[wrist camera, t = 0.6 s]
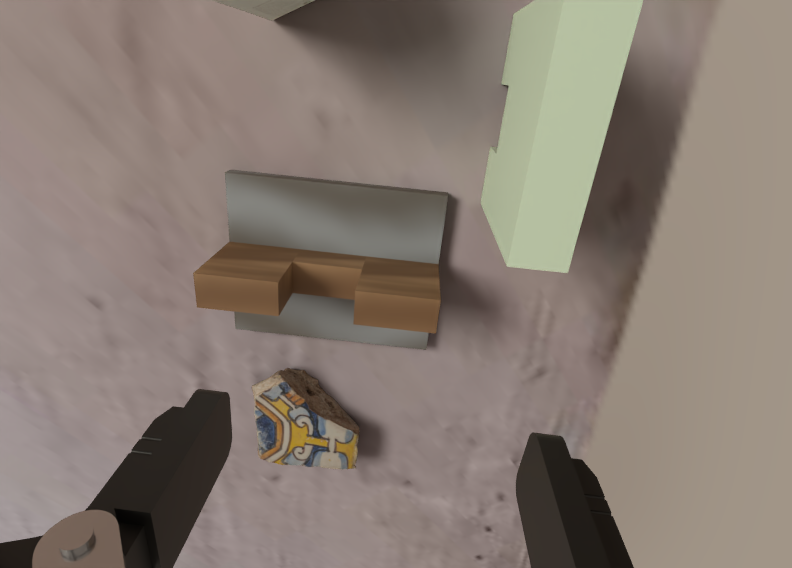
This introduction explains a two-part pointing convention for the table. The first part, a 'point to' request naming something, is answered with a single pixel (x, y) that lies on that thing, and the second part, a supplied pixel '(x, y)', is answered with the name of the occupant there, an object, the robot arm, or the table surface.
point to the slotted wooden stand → (328, 259)
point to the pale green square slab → (554, 124)
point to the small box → (266, 6)
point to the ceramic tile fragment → (302, 423)
